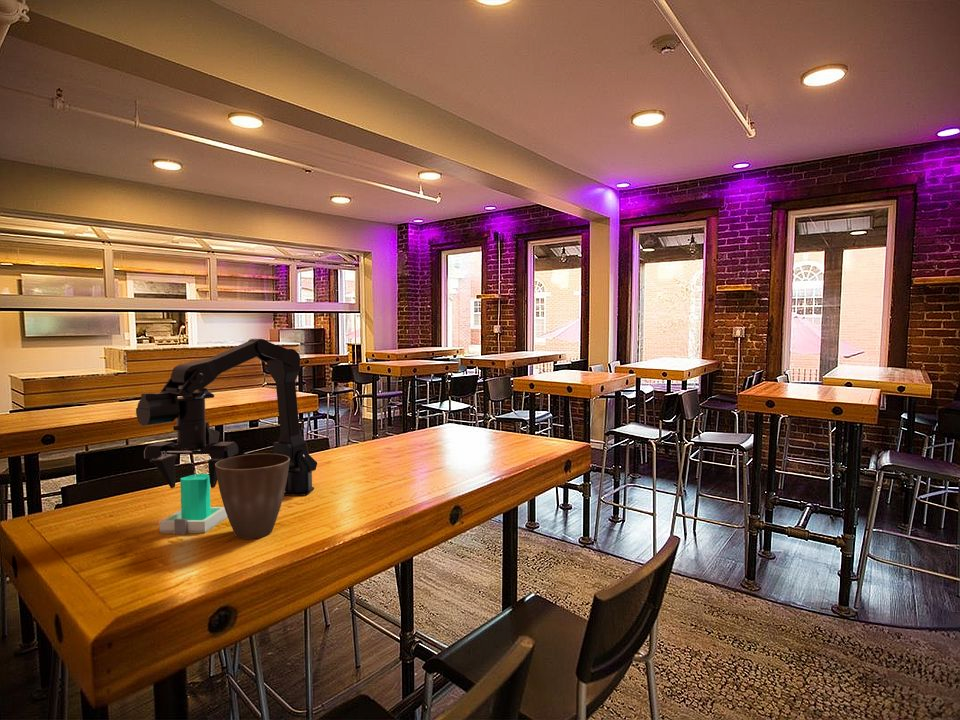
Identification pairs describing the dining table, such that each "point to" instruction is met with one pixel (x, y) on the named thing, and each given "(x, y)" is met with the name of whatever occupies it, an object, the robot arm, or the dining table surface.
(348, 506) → the dining table surface
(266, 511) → the plant pot
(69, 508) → the dining table surface
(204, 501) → the candle
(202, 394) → the robot arm
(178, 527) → the white square tray
